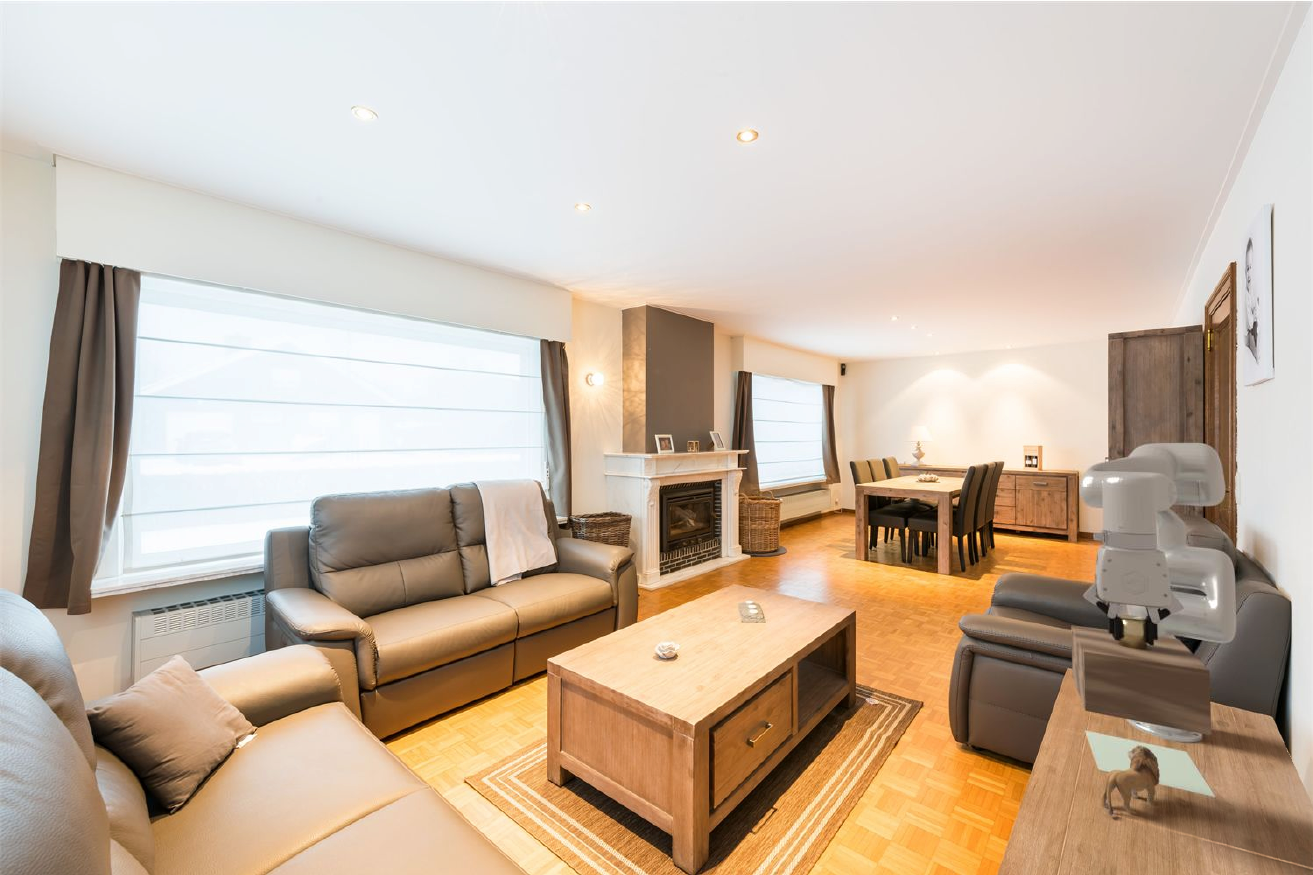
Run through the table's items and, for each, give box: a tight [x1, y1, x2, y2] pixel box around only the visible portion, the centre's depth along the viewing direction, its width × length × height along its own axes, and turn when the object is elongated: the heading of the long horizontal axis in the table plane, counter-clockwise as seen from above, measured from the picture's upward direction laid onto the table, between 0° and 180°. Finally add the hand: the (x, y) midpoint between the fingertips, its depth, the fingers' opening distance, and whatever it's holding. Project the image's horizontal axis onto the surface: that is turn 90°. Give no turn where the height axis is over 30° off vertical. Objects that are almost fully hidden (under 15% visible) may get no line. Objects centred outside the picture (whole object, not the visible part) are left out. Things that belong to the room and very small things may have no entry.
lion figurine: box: [1100, 745, 1160, 817], centre depth 97 cm, size 15×5×9 cm, turn 118°
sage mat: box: [1084, 730, 1216, 798], centre depth 109 cm, size 17×17×1 cm
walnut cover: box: [1070, 614, 1212, 736], centre depth 98 cm, size 16×16×16 cm
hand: (1132, 639), depth 98 cm, fingers closed on walnut cover, 4 cm apart
